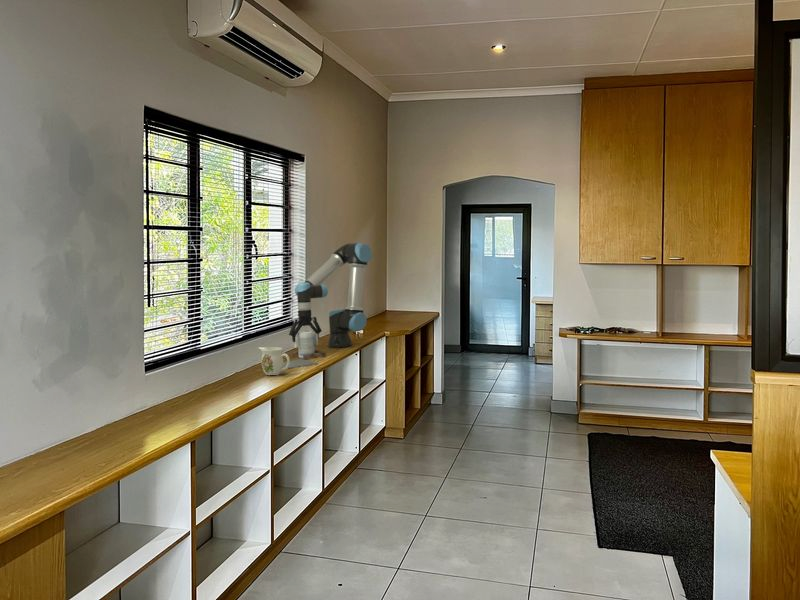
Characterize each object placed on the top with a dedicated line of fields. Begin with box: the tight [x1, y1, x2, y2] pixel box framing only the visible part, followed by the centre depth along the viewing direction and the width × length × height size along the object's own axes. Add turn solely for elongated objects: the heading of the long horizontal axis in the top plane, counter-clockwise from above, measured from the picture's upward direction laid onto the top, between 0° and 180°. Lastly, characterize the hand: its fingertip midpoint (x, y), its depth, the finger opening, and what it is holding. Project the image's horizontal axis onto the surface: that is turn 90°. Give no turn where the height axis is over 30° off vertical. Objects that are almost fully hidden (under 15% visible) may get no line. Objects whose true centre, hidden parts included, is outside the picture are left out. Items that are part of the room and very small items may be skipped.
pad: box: [283, 358, 319, 369], centre depth 377 cm, size 18×18×1 cm
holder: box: [290, 349, 327, 360], centre depth 400 cm, size 14×16×2 cm
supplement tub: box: [296, 330, 316, 359], centre depth 399 cm, size 10×10×15 cm
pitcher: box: [257, 346, 291, 376], centre depth 349 cm, size 11×18×14 cm, turn 68°
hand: (306, 346), depth 399 cm, fingers open, 13 cm apart
